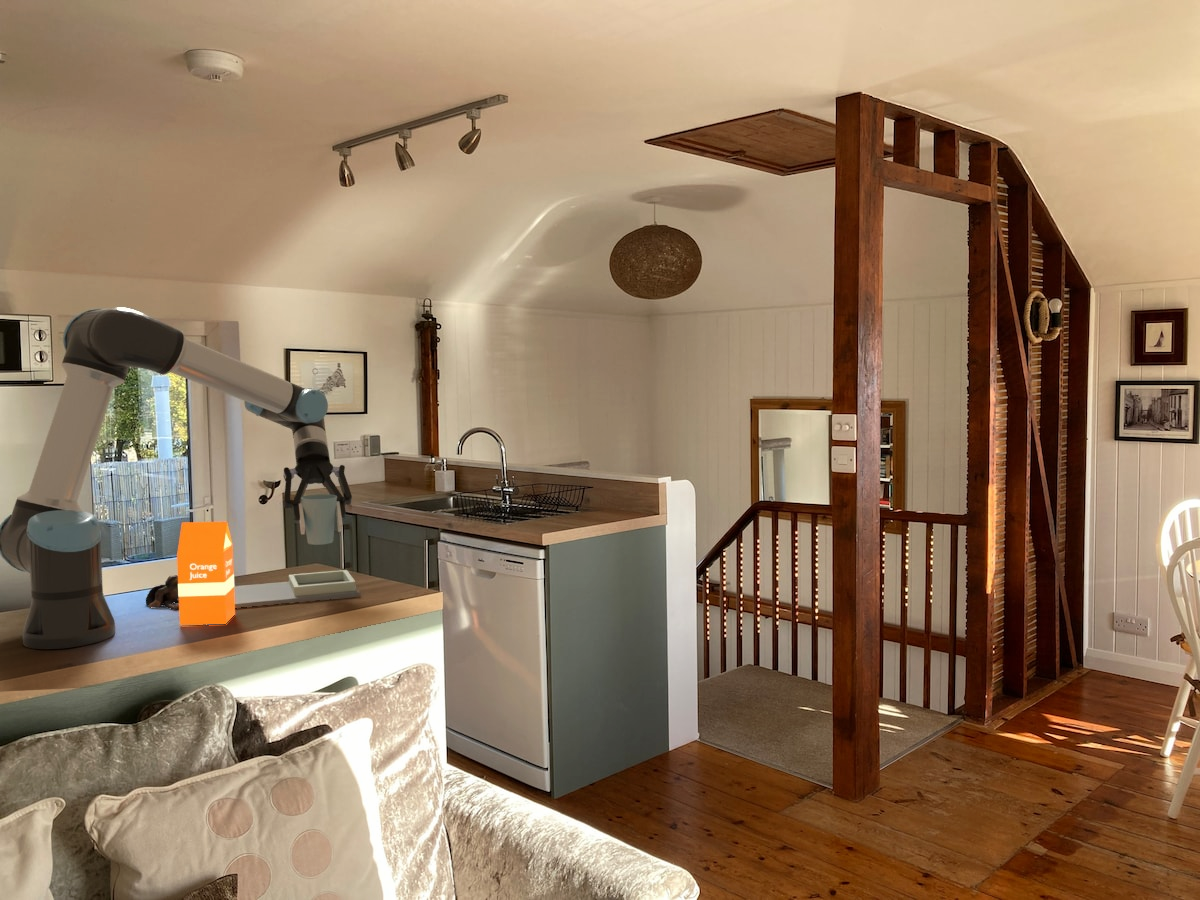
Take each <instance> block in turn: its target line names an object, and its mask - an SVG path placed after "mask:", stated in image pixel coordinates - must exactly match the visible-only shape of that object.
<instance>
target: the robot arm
mask: <svg viewBox="0 0 1200 900" xmlns="http://www.w3.org/2000/svg"><path fill="white" fill-rule="evenodd" d="M185 335H186V334H185V332H184V331H182V329H179V328H177V327H174V326H171V325H169V324H168V323H166V322H163V321H161V320H159V319H156V318H154V317H152V316H150V315H147V314H146V313H143V312H141V311H139V310H136V309H132V308H127V307H111V308H92V309H88V310H85V311H84V312H81V313H79V314H76V316H74V317H73V318H72V319H71V320H70V321H69V322H68V323H67V324H66V327H65V328H64V332H63V335H62V336H63V337H62V340H63V341H62V342H63V347H64V349H65V350H64V351H65V354H64V356H63V358H62V362H61V366H62V368H63V370H64V372H65V374H66V378H65V380H64V384H63V387H62V390H61V392H60V395H59V398H58V399H59V400H58V402H57V406H56V408H55V411H54V414H53V417H52V420H51V423H50V426H49V430H48V432H47V436H46V439H45V441H44V444H43V448H42V450H41V454H40V456H39V458H38V459H39V460H38V462H37V466H36V469H35V472H34V475H33V478H32V480H31V483H30V487H29V488H28V490H27V492H25V493H23V494H22V495H20V496H17V498H16V500H15V502H14V503H15V504H14V506H13V508H12V512H11V514H10V515H8V516H7V517H6V518H4V520H3V521H2V522H1V523H0V557H1V558H2V559H3V560H4V561H5V562H6V563H8V564H9V565H10V567H12V568H14V569H16V570H18V571H21V572H24V573H28V574H29V576H30V591H31V604H30V606H29V610H28V613H27V617H26V620H25V621H24V622H25V623H24V626H23V629H22V645H23V646H24V647H26V648H30V649H35V650H57V649H59V650H60V649H70V648H71V649H72V648H77V647H81V646H87V645H92V644H95V643H99V642H101V641H102V642H103V641H104V640H107V639H109V638H111V637H113V636H114V635H115V634H116V621H115V619H114V616H113V614H112V612H111V611H112V610H111V609H110V607H109V605H108V602H107V600H106V598H105V596H104V589H103V587H104V586H103V565H102V563H103V562H102V545H101V544H102V539H101V538H102V531H101V529H100V523H99V522H100V521H99V519H98V518H97V516H95V515H94V514H92V513H91V512H87V511H83V510H82V508H81V506H80V505H79V503H78V500H79V497H80V493H81V490H82V488H83V484H84V481H85V477H86V475H87V472H88V469H89V465H90V462H91V459H92V457H93V453H94V450H95V447H96V444H97V441H98V438H99V435H100V431H101V429H102V426H103V423H104V419H105V416H106V413H107V410H108V406H109V404H110V400H111V398H112V394H113V391H114V389H115V388H116V387H118V386H120V385H122V384H124V383H125V381H126V378H127V375H128V371H129V368H136V369H144V370H147V371H151V372H155V373H157V374H159V375H164V376H165V375H168V374H170V373H171V374H173V375H176V376H179V377H182V378H184V379H187V380H189V381H191V382H195V383H197V384H199V385H202V386H205V387H206V388H207V387H208V388H210V389H212V390H216V391H218V392H220V393H222V394H226V395H228V396H231V397H234V398H236V399H239V400H241V401H243V404H244V409H246V411H248V412H250V413H251V414H253V415H255V416H256V417H261V418H264V419H265V420H268V421H271V422H273V423H276V424H279V425H281V426H283V427H285V428H288V429H290V430H291V432H292V439H293V444H294V445H293V446H294V455H295V464H296V465H295V467H294V468H290V467H284V468H283V474H282V475H283V480H284V482H285V486H284V501H283V508H284V509H292V512H293V520H294V521H295V522H296V521H299V528H300V535H306V528H305V521H304V513H303V506H302V500H301V497H303V496H305V492H306V490H307V488H308V485H313V484H318V485H319V484H321V485H322V486H323V487H324V488H325V489H326V490H327V492H328V494H330V495H336V496H337V503H336V512H335V520H336V524H337V532H338V533H340V532H342V531H343V518H345V517H346V513H347V511H346V505H349V506H350V505H351V504H352V499H353V496H352V493H351V489H350V487H349V483H348V481H347V480H348V479H347V478H346V475H345V474H346V473H345V470H346V467H345V465H343V464H341V465H339V466H334V465H333V464H332V463H331V459H330V453H329V452H330V451H329V444H328V439H327V431H326V424H325V417H326V415H327V412H328V409H329V402H328V399H327V397H326V395H325V394H324V393H323V392H322V391H320V390H318V389H314V388H305V387H302V386H300V385H297V384H295V383H292V382H289V381H288V380H285V379H284V378H281V377H279V376H276V375H274V374H271V373H269V372H267V371H264V370H262V369H260V368H257V367H255V366H253V365H250V364H247V363H246V362H243V361H241V360H238V359H237V358H234V357H232V356H230V355H226V354H224V353H222V352H220V351H217V350H215V349H213V348H210V347H208V346H206V345H204V344H202V343H201V344H200V343H198V342H196V341H194V340H192V339H189V338H187V337H186V336H185ZM332 473H334V475H335V477H336V478H337V481H338V484H339V487H340V490H341V492H340V490H339V489H338V488H337V486H336V484H335V482H333V480H332V478H331V474H332ZM295 475H296V476H298V477H299V478H300V482H299V483H300V484H299V485H298V489H297V490H296V493H295V496H294V498H293V499H291V491H292V490H291V489H292V480H293V478H295Z"/></svg>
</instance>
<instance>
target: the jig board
mask: <svg viewBox="0 0 1200 900" xmlns="http://www.w3.org/2000/svg"><path fill="white" fill-rule="evenodd" d="M234 596H235V608H237V609H242V608H241V607H247V608H253V607H252V606H258V607H263V606H262V605H268V606H273V605H272V604H279V605H282V604H281V603H289V604H292V603H291V602H299V603H302V602H301V601H310V602H316V601H315V600H320V601H330V599H331V600H338V599H339V600H340V599H350V598H360V591H359V589H357V586H356V580H355V578H353V576H352V575H351V574H350V572H349V571H348V569H342V570H341V569H340V570H329V571H318V572H317V571H316V572H308V573H307V572H304V573H294V574H288V581H280V582H268V583H266V582H265V583H255V584H254V583H253V584H247V585H246V584H245V585H234Z"/></svg>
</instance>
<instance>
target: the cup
mask: <svg viewBox="0 0 1200 900" xmlns="http://www.w3.org/2000/svg"><path fill="white" fill-rule="evenodd" d="M301 503H302V506H303V513H304V522H305V535H306V539H307V541H306V542H307V544H308V545H313V546H314V545H315V546H316V545H319V546H320V545H328V544H332V543H333V542H334V538H335V536H334V534H335V524H336V523H335V522H336V503H337V496H336V495H330V493H325V494H324V493H323V494H322V493H321V494H310V495H309V494H308V495H303V497H301Z"/></svg>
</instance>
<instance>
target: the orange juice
mask: <svg viewBox="0 0 1200 900" xmlns="http://www.w3.org/2000/svg"><path fill="white" fill-rule="evenodd" d="M178 539H179V540H178V547H177V553H176V561H177V562H176V563H177V564H176V565H177V566H176V567H177V576H178V597H179V599H178V600H179V604H178V605H179V609H178V611H179V612H178V613H179V616H178V617H179V626H180V625H181V626H182V625H203V624H206V625H207V624H226V623H227V622H228V621H229V620H230V619H231V618H232V617H233V616H234V615H235V616H236V609H235V596H234V586H235V572H234V548H233V541H232V536H231V532H230V529H229V524H228V521H195V522H193V521H192V522H189V521H188V522H187V521H185V522H181V528H180V533H179V538H178ZM235 616H234V617H235ZM234 617H233V618H234ZM233 618H232V619H233ZM232 619H231V620H232ZM231 620H230V621H231ZM230 621H229V622H230ZM229 622H228V623H229ZM228 623H227V624H228ZM227 624H226V625H227ZM182 627H183V626H182Z"/></svg>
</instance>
